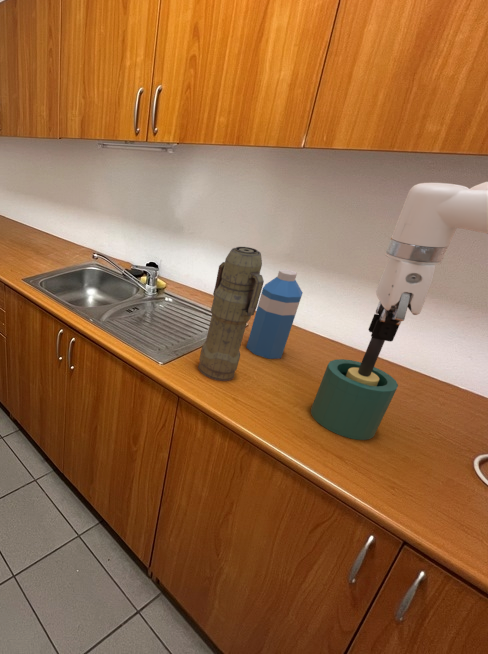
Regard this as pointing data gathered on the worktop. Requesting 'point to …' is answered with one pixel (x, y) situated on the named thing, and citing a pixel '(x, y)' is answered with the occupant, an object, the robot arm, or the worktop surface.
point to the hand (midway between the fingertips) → (380, 335)
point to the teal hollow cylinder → (352, 401)
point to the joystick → (367, 364)
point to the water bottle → (275, 315)
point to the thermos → (231, 312)
